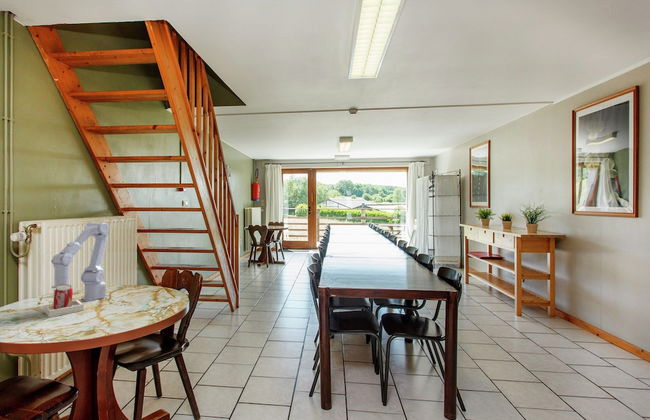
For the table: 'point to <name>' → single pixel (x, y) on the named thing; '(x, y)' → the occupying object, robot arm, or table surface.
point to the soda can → (62, 296)
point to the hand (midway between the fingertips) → (61, 302)
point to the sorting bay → (64, 309)
